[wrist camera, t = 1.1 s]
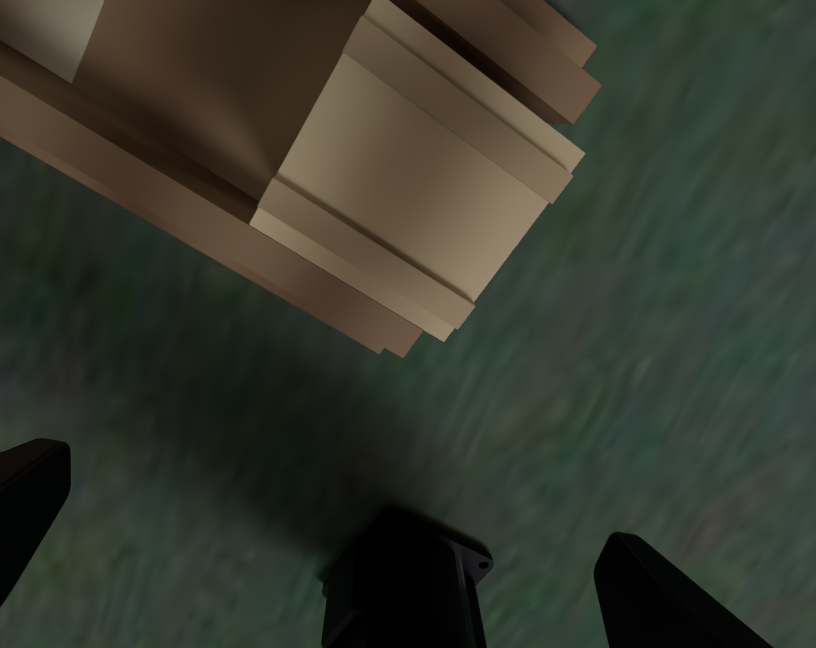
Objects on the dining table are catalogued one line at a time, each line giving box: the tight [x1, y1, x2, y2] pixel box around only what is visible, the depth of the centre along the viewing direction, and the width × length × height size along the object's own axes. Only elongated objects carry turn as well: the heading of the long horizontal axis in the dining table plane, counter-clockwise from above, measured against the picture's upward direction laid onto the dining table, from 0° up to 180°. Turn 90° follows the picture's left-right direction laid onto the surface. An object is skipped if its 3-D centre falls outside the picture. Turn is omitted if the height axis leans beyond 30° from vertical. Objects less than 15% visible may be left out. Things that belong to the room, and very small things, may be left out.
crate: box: [249, 0, 585, 342], centre depth 15 cm, size 6×6×5 cm
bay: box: [0, 0, 602, 358], centre depth 15 cm, size 19×13×4 cm
